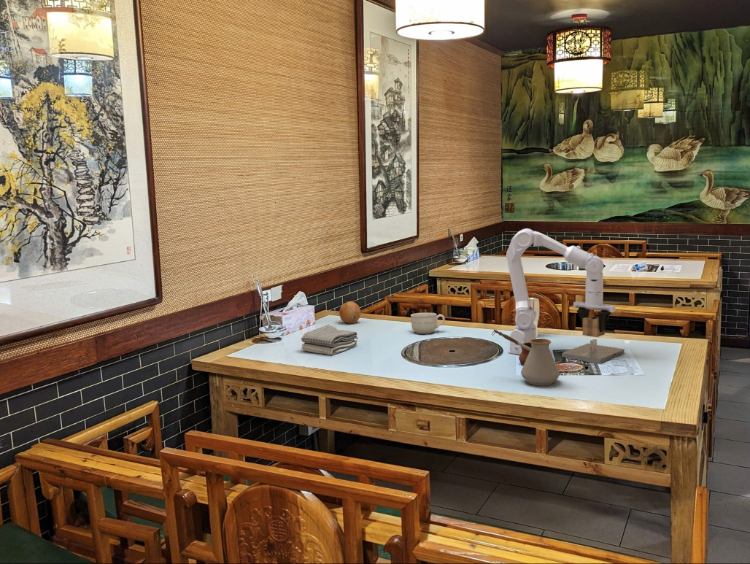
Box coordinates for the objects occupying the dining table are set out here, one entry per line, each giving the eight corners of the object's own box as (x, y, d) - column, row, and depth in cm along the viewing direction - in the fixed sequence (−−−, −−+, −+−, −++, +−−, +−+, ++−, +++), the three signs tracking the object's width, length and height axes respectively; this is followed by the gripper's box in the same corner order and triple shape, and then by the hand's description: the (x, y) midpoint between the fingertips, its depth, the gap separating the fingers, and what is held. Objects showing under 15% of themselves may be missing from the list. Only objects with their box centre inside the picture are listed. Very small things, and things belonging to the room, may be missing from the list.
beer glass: (541, 338, 262) (541, 300, 260) (523, 338, 262) (523, 300, 260) (537, 334, 269) (537, 297, 267) (519, 334, 269) (519, 297, 267)
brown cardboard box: (590, 332, 237) (590, 315, 236) (604, 334, 233) (604, 316, 232) (582, 335, 233) (582, 317, 232) (597, 337, 229) (597, 319, 229)
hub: (599, 363, 223) (600, 347, 222) (561, 357, 233) (562, 341, 232) (624, 353, 235) (624, 337, 235) (587, 347, 245) (587, 332, 245)
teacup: (408, 335, 276) (407, 316, 275) (414, 329, 286) (414, 311, 285) (441, 336, 272) (441, 316, 271) (446, 330, 282) (446, 311, 281)
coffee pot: (564, 379, 207) (565, 332, 205) (552, 389, 197) (552, 339, 195) (499, 371, 218) (499, 325, 216) (485, 380, 209) (484, 332, 207)
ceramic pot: (560, 358, 232) (559, 338, 231) (559, 373, 215) (558, 352, 214) (507, 357, 237) (506, 338, 236) (502, 372, 220) (501, 351, 219)
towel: (300, 353, 253) (299, 332, 252) (328, 342, 268) (327, 323, 267) (333, 357, 245) (332, 336, 244) (360, 346, 260) (359, 326, 259)
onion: (352, 320, 310) (351, 298, 309) (365, 323, 303) (364, 301, 302) (335, 323, 304) (334, 301, 303) (348, 326, 297) (347, 304, 295)
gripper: (619, 291, 229) (619, 330, 231) (580, 288, 239) (580, 325, 241) (610, 294, 224) (609, 334, 226) (570, 290, 234) (570, 329, 236)
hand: (593, 330), depth 233 cm, fingers closed on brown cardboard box, 5 cm apart
